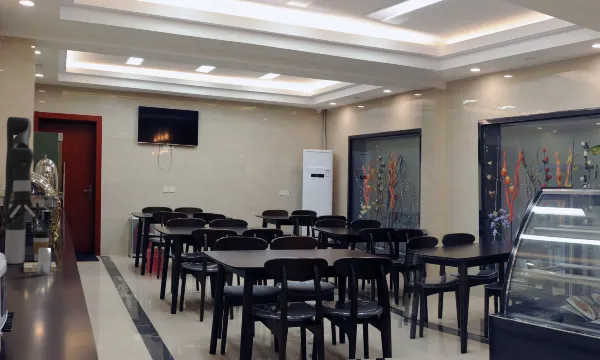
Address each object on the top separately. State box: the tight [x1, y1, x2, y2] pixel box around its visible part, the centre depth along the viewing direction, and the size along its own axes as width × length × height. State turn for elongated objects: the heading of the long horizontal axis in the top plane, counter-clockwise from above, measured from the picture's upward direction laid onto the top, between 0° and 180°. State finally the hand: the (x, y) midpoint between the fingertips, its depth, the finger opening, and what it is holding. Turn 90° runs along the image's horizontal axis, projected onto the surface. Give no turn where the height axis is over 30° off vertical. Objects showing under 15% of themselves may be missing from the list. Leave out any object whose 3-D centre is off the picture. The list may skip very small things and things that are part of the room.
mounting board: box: [23, 261, 57, 273], centre depth 279 cm, size 18×14×2 cm
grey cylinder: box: [37, 247, 53, 276], centre depth 263 cm, size 6×5×12 cm
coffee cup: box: [32, 231, 50, 262], centre depth 309 cm, size 8×8×15 cm
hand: (23, 225), depth 266 cm, fingers open, 8 cm apart
